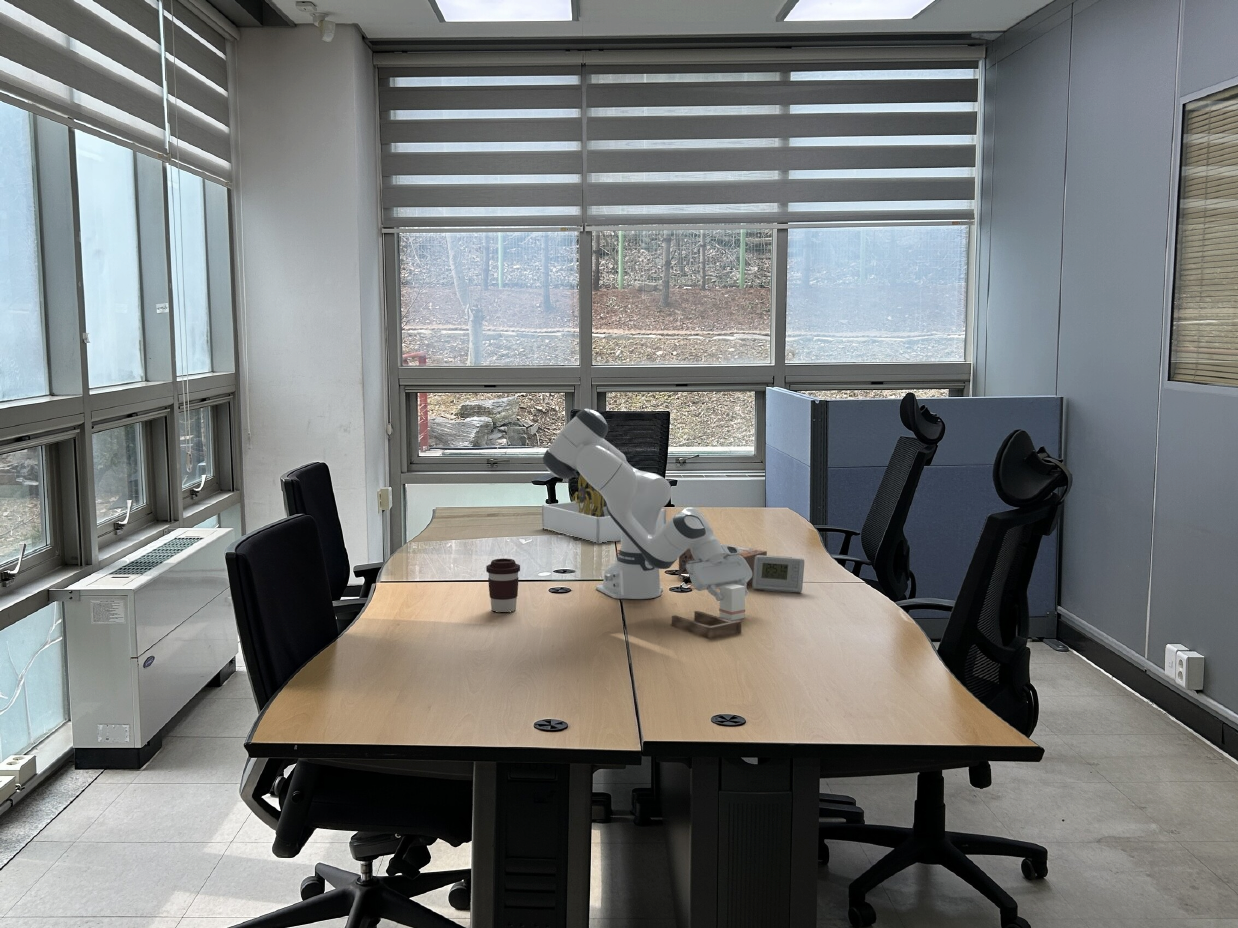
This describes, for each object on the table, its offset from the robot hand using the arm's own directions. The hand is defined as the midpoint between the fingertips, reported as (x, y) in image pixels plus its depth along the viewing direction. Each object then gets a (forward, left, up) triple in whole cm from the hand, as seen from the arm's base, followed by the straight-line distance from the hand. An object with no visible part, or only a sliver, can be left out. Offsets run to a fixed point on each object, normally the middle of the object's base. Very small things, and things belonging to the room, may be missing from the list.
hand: (733, 597), depth 305 cm
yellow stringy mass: (-134, +58, -8) cm, 146 cm away
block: (-1, 0, -7) cm, 7 cm away
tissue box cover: (-45, +36, -8) cm, 58 cm away
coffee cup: (-51, -45, -8) cm, 68 cm away
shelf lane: (+4, -14, -7) cm, 16 cm away
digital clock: (-21, +38, -8) cm, 44 cm away
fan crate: (-138, +54, -7) cm, 148 cm away
